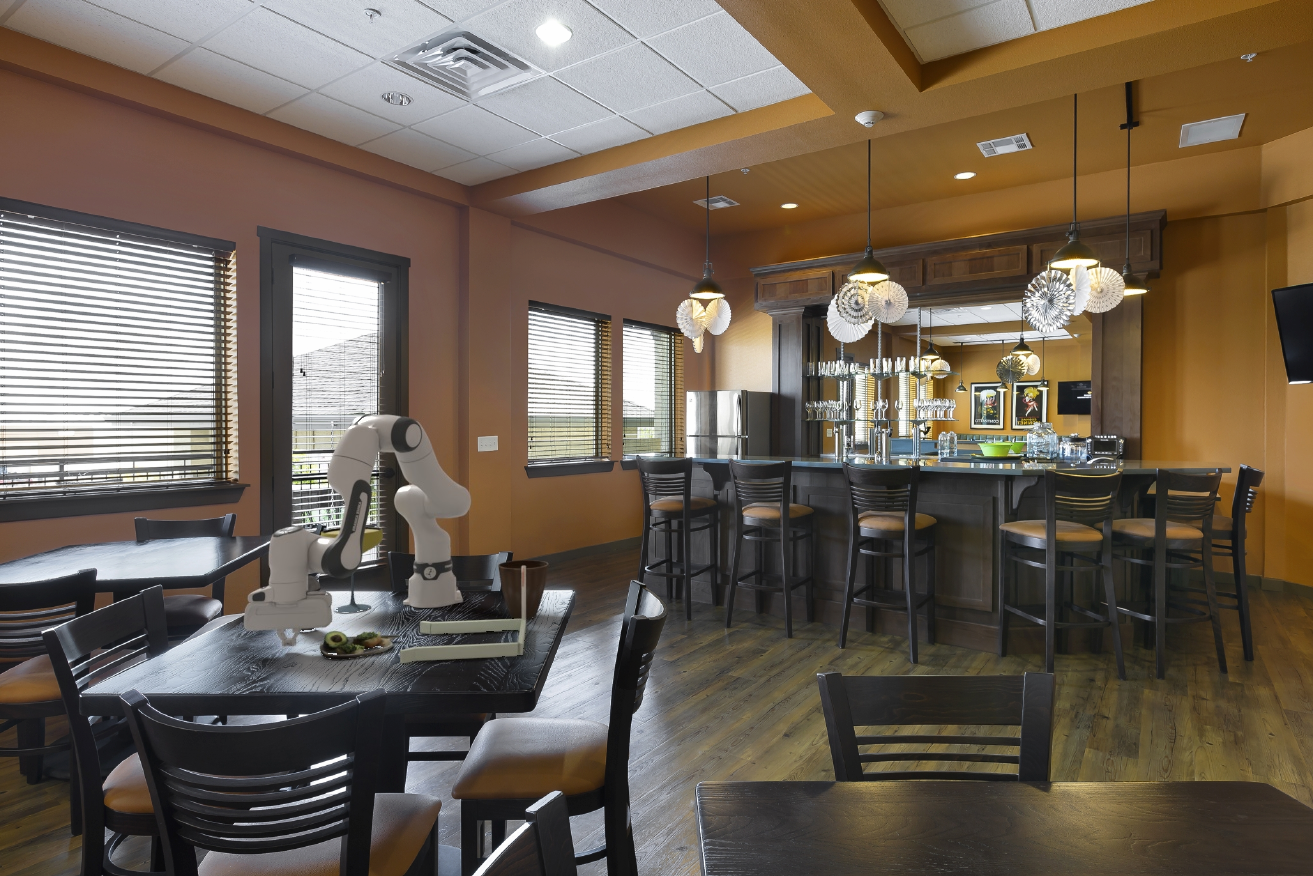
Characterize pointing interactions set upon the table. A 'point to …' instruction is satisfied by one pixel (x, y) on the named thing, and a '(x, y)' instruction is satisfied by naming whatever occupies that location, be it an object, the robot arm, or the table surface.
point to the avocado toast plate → (354, 644)
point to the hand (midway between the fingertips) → (289, 645)
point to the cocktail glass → (369, 541)
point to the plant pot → (513, 585)
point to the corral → (469, 627)
